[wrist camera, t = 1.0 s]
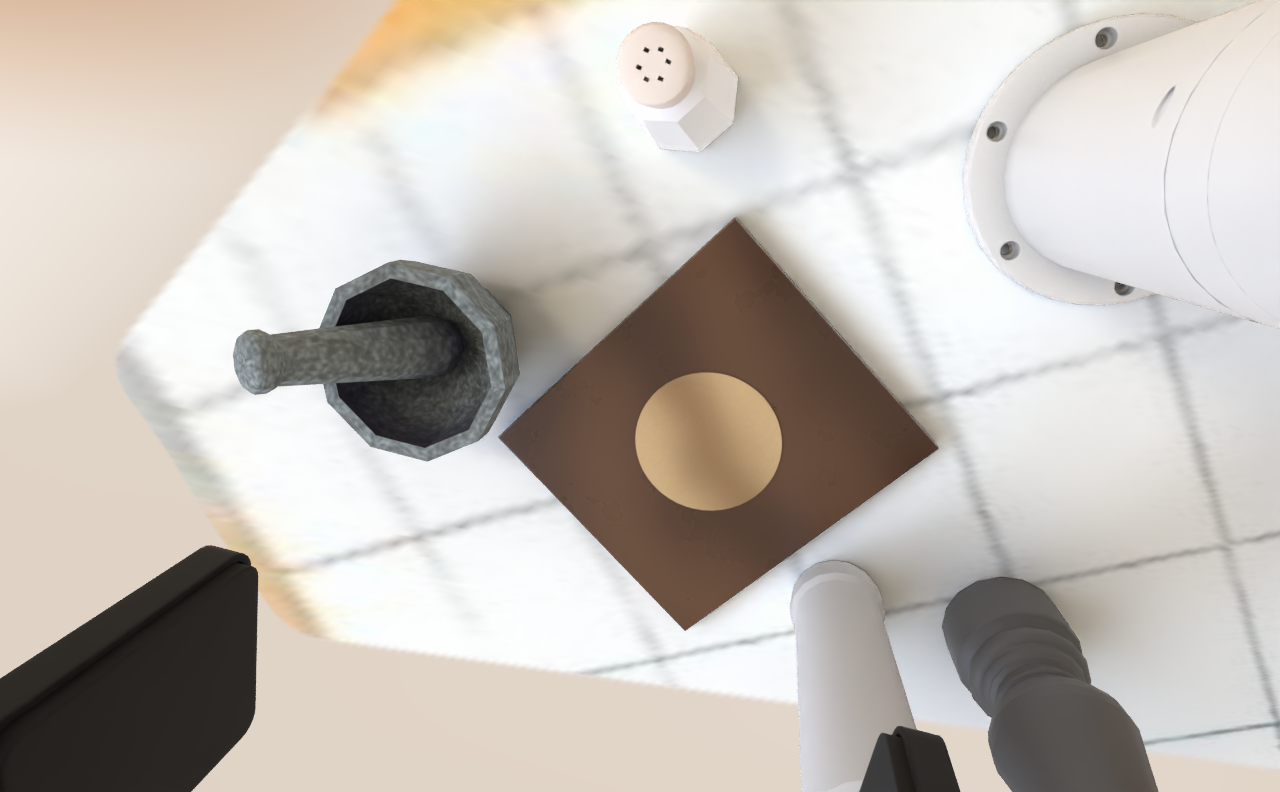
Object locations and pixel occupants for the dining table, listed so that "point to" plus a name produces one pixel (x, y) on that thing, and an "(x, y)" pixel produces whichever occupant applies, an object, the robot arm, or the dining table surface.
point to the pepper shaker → (676, 86)
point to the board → (716, 430)
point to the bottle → (843, 676)
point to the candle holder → (1040, 694)
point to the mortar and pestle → (398, 358)
